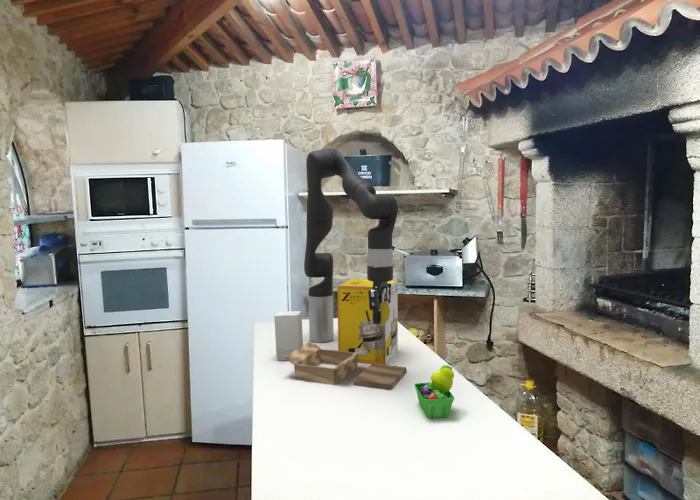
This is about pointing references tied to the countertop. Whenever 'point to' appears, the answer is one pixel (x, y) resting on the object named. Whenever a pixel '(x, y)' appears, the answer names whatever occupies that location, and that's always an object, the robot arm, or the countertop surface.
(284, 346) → the skincare box
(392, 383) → the walnut board
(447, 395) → the fruit basket
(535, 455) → the countertop surface
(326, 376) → the carton
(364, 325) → the packaging box
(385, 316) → the lemon
